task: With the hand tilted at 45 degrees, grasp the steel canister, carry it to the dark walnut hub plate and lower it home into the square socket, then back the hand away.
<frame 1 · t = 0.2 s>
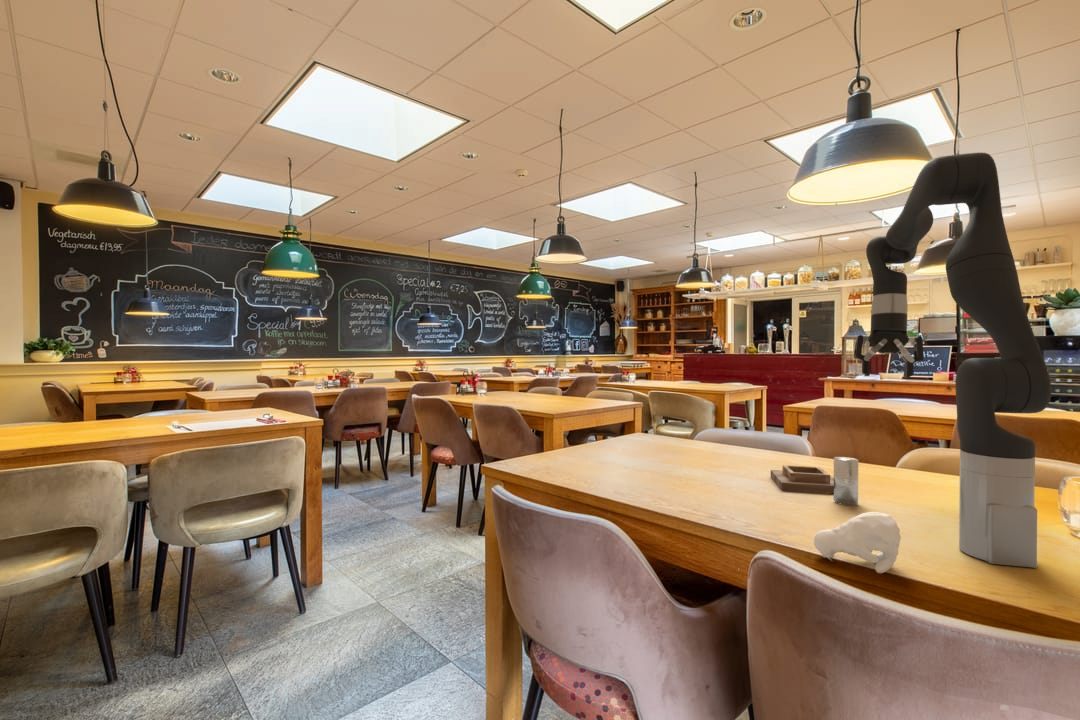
hand: (886, 377, 123), 28 cm above the table, tool pointing down, fingers open, 8 cm apart
steel canister: (845, 502, 112), on the table
hub plate: (805, 485, 126), on the table
white animal figurine: (855, 564, 79), on the table
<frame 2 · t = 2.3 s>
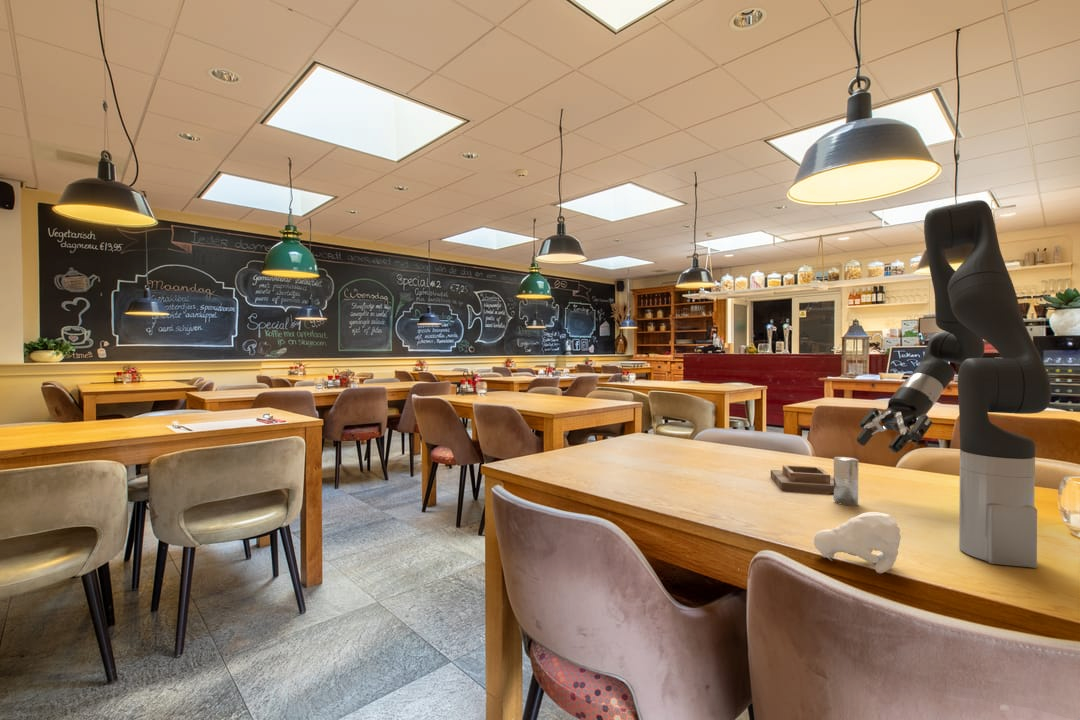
hand: (875, 446, 113), 12 cm above the table, tool tilted 45°, fingers open, 8 cm apart
nothing on the table moved.
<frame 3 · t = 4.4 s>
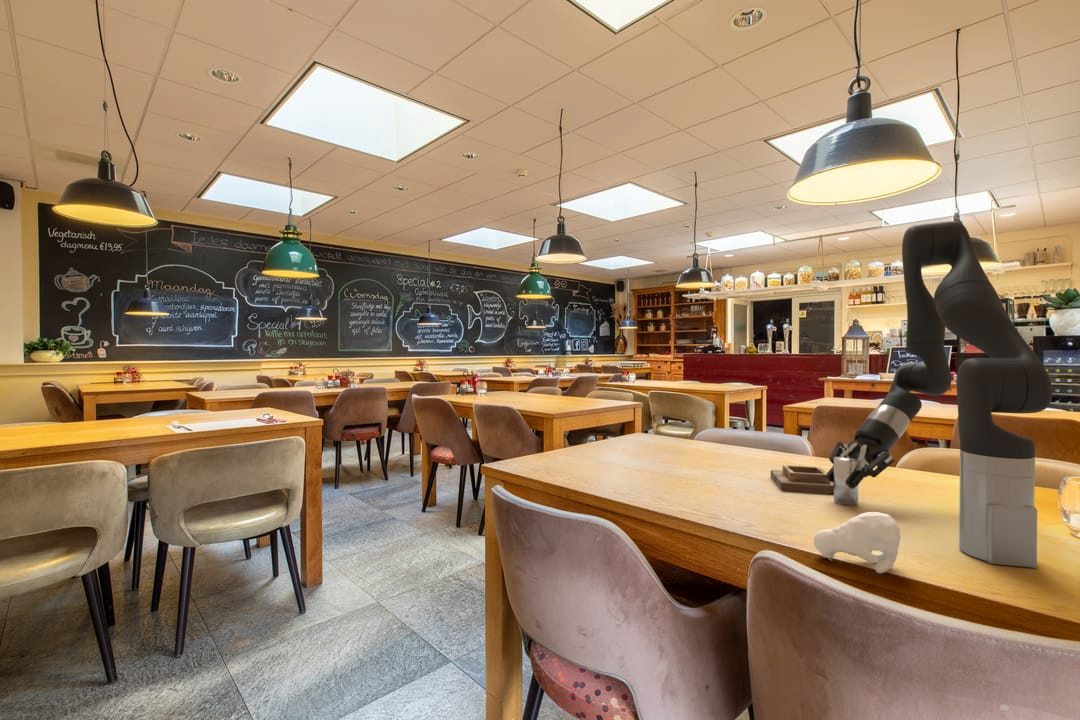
hand: (839, 482, 111), 5 cm above the table, tool tilted 45°, fingers closed on steel canister, 4 cm apart
steel canister: (845, 502, 112), on the table, touching gripper
everything else where it was.
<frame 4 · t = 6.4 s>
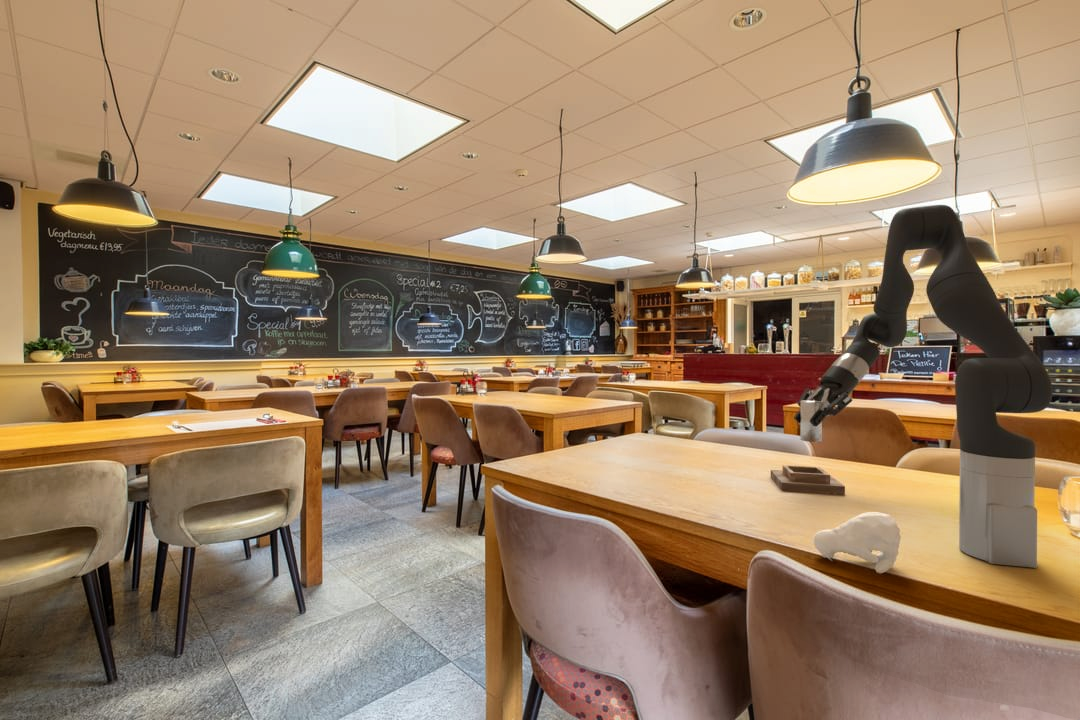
hand: (804, 422, 125), 17 cm above the table, tool tilted 45°, fingers closed on steel canister, 4 cm apart
steel canister: (810, 440, 125), point 12 cm above the table, touching gripper
everything else where it was.
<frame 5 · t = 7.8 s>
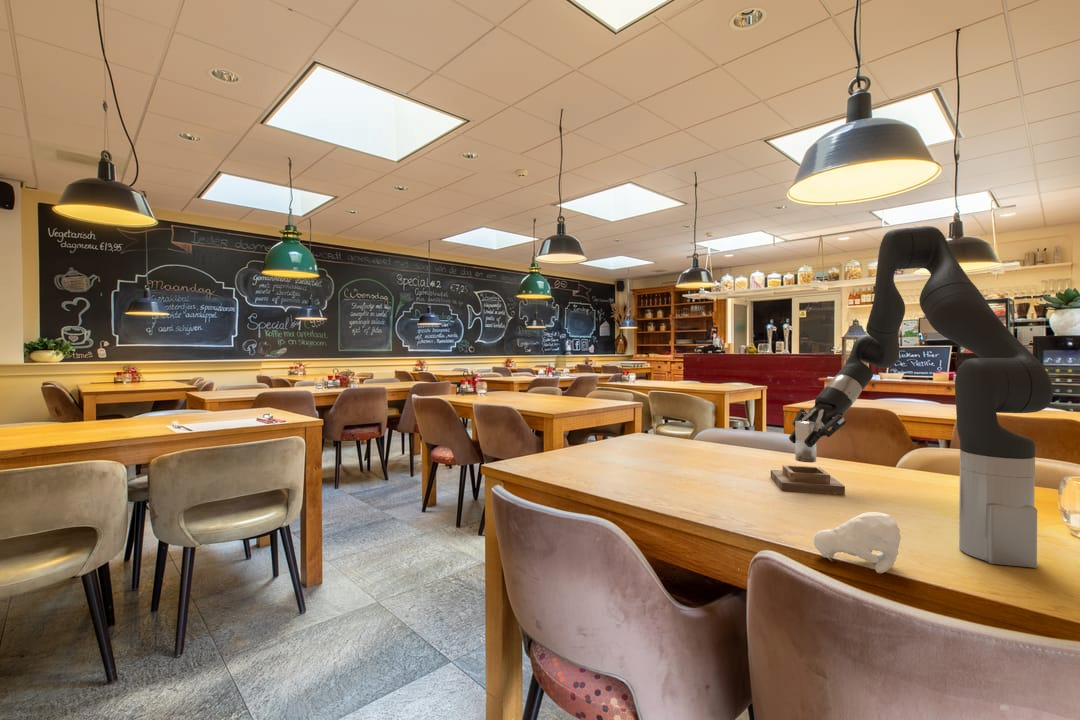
hand: (799, 442, 126), 11 cm above the table, tool tilted 45°, fingers closed on steel canister, 4 cm apart
steel canister: (805, 460, 127), point 6 cm above the table, touching gripper
everything else where it was.
when the fingers open (8 cm above the table, at t = 8.9 s): steel canister drops 1 cm, resting on hub plate.
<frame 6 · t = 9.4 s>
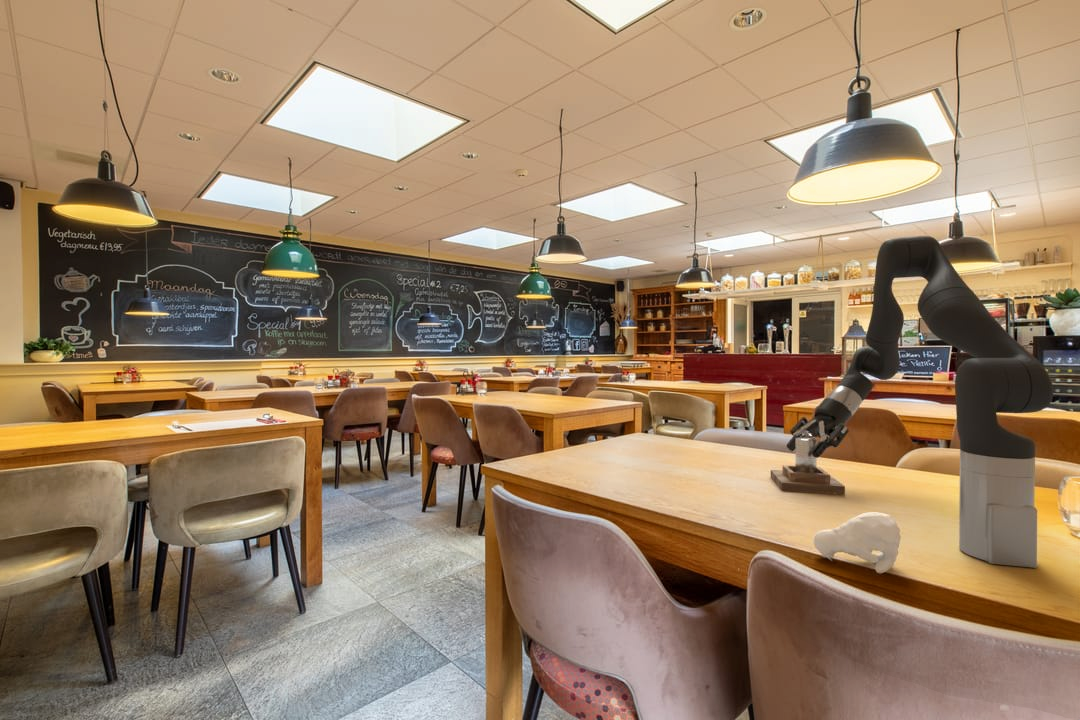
hand: (801, 452, 126), 9 cm above the table, tool tilted 45°, fingers open, 8 cm apart
steel canister: (805, 477, 126), point 2 cm above the table, touching hub plate
everything else where it was.
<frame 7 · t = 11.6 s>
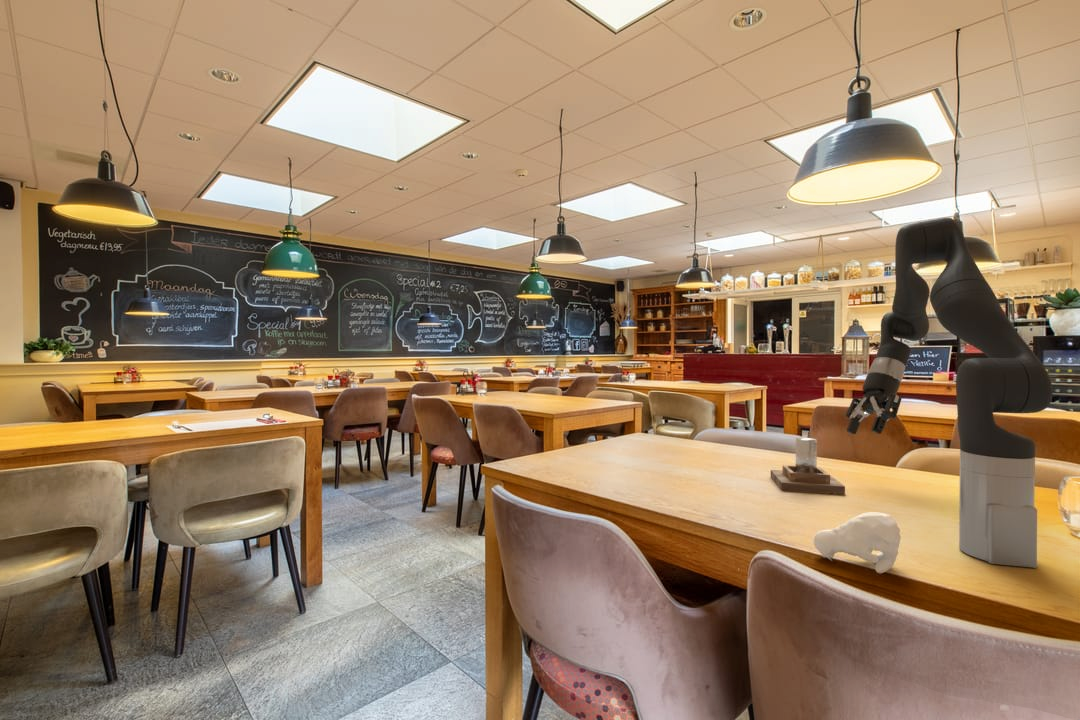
hand: (862, 432, 126), 14 cm above the table, tool tilted 30°, fingers open, 8 cm apart
nothing on the table moved.
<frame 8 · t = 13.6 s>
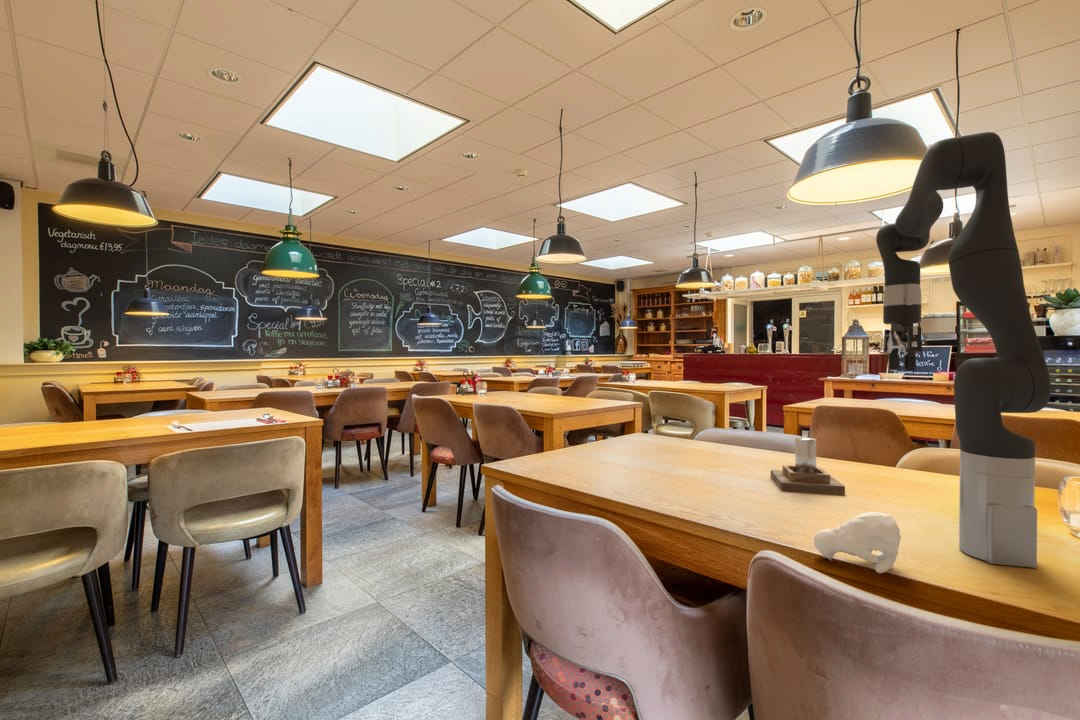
hand: (901, 370, 120), 30 cm above the table, tool pointing down, fingers open, 8 cm apart
nothing on the table moved.
at the end: steel canister 0.2 cm off-centre on the hub plate, point 2.0 cm above the hub plate's base; steel canister tilted 1°; the gripper is holding nothing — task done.
